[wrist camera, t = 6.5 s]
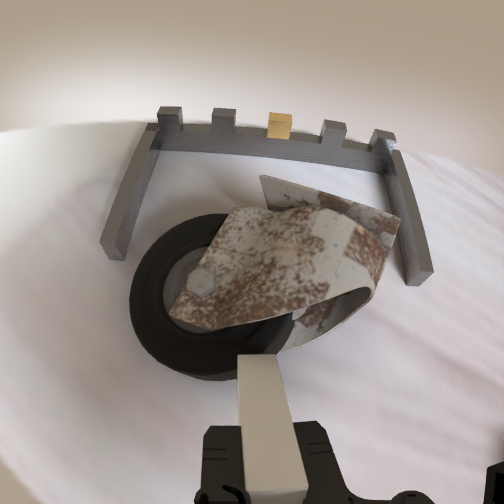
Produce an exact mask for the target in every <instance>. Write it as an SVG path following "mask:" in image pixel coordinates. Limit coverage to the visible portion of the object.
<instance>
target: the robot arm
mask: <svg viewBox="0 0 504 504" xmlns="http://www.w3.org/2000/svg"><path fill="white" fill-rule="evenodd" d="M237 409H238V426H210V427H209V429H208V430H207V432H206V433H205V435H204V439H203V455H202V472H201V489H200V490H199V491H198V492H197V493H196V495H195V499H194V503H195V504H435V503H434V502H433V501H432V500H431V499H430V498H429V497H428V496H426V495H425V494H423V493H421V492H418V491H404V492H401V493H399V494H397V495H396V496H395V497H393V498H392V500H368V499H363V498H360V497H357V496H356V495H354V494H353V493H351V492H350V491H349V490H348V488H347V486H346V485H345V482H344V479H343V477H342V474H341V471H340V468H339V466H338V463H337V460H336V457H335V454H334V453H333V449H332V446H331V443H330V441H329V438H328V435H327V432H326V430H325V429H324V428H323V427H322V426H321V425H320V424H319V423H318V422H317V421H307V422H294V423H292V419H291V415H290V411H289V407H288V403H287V399H286V395H285V391H284V388H283V384H282V380H281V376H280V372H279V368H278V364H277V360H276V356H275V354H263V355H238V376H237Z"/></svg>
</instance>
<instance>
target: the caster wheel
mask: <svg viewBox="0 0 504 504" xmlns="http://www.w3.org/2000/svg"><path fill="white" fill-rule="evenodd" d="M259 177H260V181H261V184H262V188H263V192H264V196H265V199H266V203H267V207H268V210H267V209H264V208H260V207H254V206H245V207H234V208H233V209H232V211H231V212H230V214H208V215H204V216H199V217H195V218H193V219H190V220H187V221H185V222H183V223H181V224H179V225H177V226H175V227H174V228H172V229H170V230H169V231H168V232H166V233H165V234H164V235H162V236H161V237H160V238H159V239H158V240H157V241H156V242H155V243H154V244H153V245H152V246H151V247H150V249H149V250H148V251H147V253H146V254H145V255H144V256H143V258H142V260H141V262H140V264H139V266H138V268H137V270H136V272H135V275H134V278H133V282H132V285H131V291H130V297H129V303H130V317H131V321H132V325H133V328H134V331H135V333H136V335H137V337H138V339H139V341H140V342H141V344H142V346H143V347H144V348H145V349H146V351H147V352H148V353H149V354H150V355H152V356H153V357H154V358H155V359H156V360H157V361H158V362H160V363H162V364H163V365H165V366H167V367H169V368H171V369H173V370H175V371H178V372H180V373H183V374H186V375H189V376H191V377H194V378H197V379H202V380H208V381H225V380H232V379H236V378H237V376H238V355H263V354H275V356H276V354H277V353H278V352H279V351H284V350H289V349H293V348H297V347H300V346H303V345H305V344H308V343H310V342H313V341H315V340H316V339H318V338H320V337H322V336H324V335H325V334H327V333H329V332H330V331H332V330H333V329H335V328H336V327H338V326H339V325H340V324H342V323H343V322H344V321H346V320H347V319H348V318H349V317H351V316H352V315H353V314H354V313H356V312H357V311H358V310H359V309H361V308H362V307H363V306H364V305H365V304H367V303H368V302H369V301H370V300H371V299H372V297H373V294H374V292H375V289H376V286H377V283H378V281H379V280H380V278H381V275H382V273H383V270H384V267H385V265H386V262H387V259H388V257H389V254H390V251H391V248H392V245H393V243H394V240H395V237H396V234H397V231H398V228H399V225H400V222H401V220H400V219H399V218H398V217H396V216H395V215H392V214H389V213H386V212H384V211H381V210H378V209H375V208H372V207H369V206H366V205H363V204H360V203H357V202H354V201H351V200H348V199H344V198H341V197H338V196H335V195H332V194H329V193H325V192H322V191H319V190H315V189H312V188H309V187H305V186H302V185H299V184H295V183H292V182H288V181H285V180H281V179H277V178H274V177H270V176H267V175H260V176H259Z"/></svg>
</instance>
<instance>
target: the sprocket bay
mask: <svg viewBox="0 0 504 504" xmlns="http://www.w3.org/2000/svg"><path fill="white" fill-rule="evenodd" d="M157 118H158V123H148V125H147V127H146V129H145V131H144V133H143V135H142V137H141V140H140V142H139V144H138V146H137V148H136V151H135V153H134V155H133V157H132V160H131V162H130V164H129V166H128V169H127V171H126V173H125V176H124V178H123V181H122V183H121V186H120V188H119V190H118V193H117V196H116V198H115V201H114V203H113V206H112V208H111V211H110V214H109V217H108V219H107V222H106V225H105V228H104V230H103V233H102V236H101V239H100V244H101V245H102V247H103V249H104V250H105V252H106V254H107V256H108V257H109V259H114V260H123V261H124V258H125V254H126V251H127V248H128V244H129V241H130V237H131V234H132V231H133V228H134V224H135V221H136V218H137V215H138V212H139V209H140V206H141V203H142V200H143V197H144V194H145V191H146V188H147V185H148V182H149V180H150V177H151V174H152V171H153V168H154V166H155V163H156V160H157V158H158V155H159V152H160V150H169V151H192V152H209V153H224V154H236V155H248V156H259V157H269V158H278V159H287V160H296V161H304V162H311V163H319V164H326V165H333V166H340V167H346V168H352V169H358V170H364V171H370V172H376V173H382V174H383V175H384V179H385V183H386V187H387V190H388V195H389V199H390V203H391V207H392V211H393V215H395V216H396V217H398V218H399V219H400V220H401V222H400V225H399V228H398V231H397V235H398V240H399V245H400V250H401V255H402V261H403V267H404V273H405V279H406V285H408V286H420V285H421V284H422V283H423V282H424V281H425V280H426V279H427V278H428V277H429V276H430V275H431V274H432V273H434V271H433V266H432V261H431V257H430V252H429V248H428V244H427V239H426V235H425V231H424V228H423V224H422V220H421V216H420V213H419V209H418V206H417V202H416V199H415V195H414V192H413V189H412V186H411V182H410V179H409V176H408V173H407V170H406V167H405V164H404V161H403V158H402V155H401V153H400V151H399V150H395V149H393V148H394V146H395V143H396V138H395V135H394V133H392V132H387V131H382V130H378V129H375V130H374V132H373V135H372V137H371V140H370V142H369V144H365V143H360V142H355V141H349V140H344V139H345V136H346V132H347V129H346V125H345V123H342V122H337V121H330V120H324V122H323V126H322V130H321V133H320V136H318V135H311V134H304V133H296V132H290V131H291V125H292V115H289V114H281V113H272V112H270V113H269V120H268V128H267V129H260V128H250V127H238V126H235V121H236V109H225V108H224V109H223V108H214V109H213V113H212V125H207V124H183V118H182V108H181V107H160V109H159V111H158V113H157Z"/></svg>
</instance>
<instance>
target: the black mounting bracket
mask: <svg viewBox="0 0 504 504" xmlns="http://www.w3.org/2000/svg"><path fill="white" fill-rule="evenodd" d="M483 504H504V461H503V462H500V463H498V464H495V465H492V466H490V467H488V468H487V474H486V485H485V494H484V502H483Z"/></svg>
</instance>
